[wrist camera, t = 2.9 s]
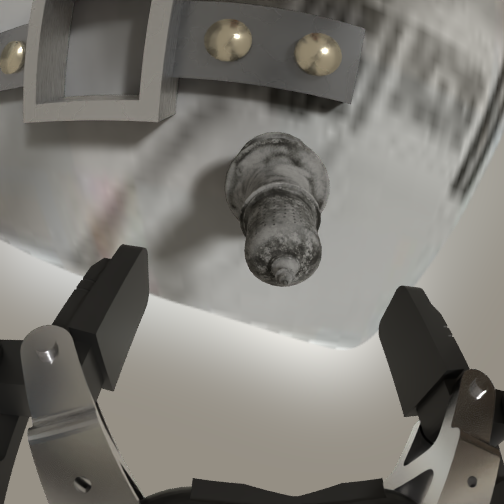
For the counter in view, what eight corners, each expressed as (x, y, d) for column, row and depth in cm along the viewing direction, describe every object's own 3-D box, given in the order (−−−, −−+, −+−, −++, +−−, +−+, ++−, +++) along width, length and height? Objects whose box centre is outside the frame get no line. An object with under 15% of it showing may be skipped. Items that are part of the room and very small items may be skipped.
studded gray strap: (363, -1, 13) (382, -14, 10) (336, 138, 19) (350, 150, 16) (-14, 18, 12) (-41, 20, 9) (-20, 121, 17) (-46, 132, 14)
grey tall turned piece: (232, 125, 19) (189, 191, 8) (324, 132, 19) (394, 208, 8) (230, 208, 22) (199, 339, 12) (313, 214, 22) (350, 346, 11)
